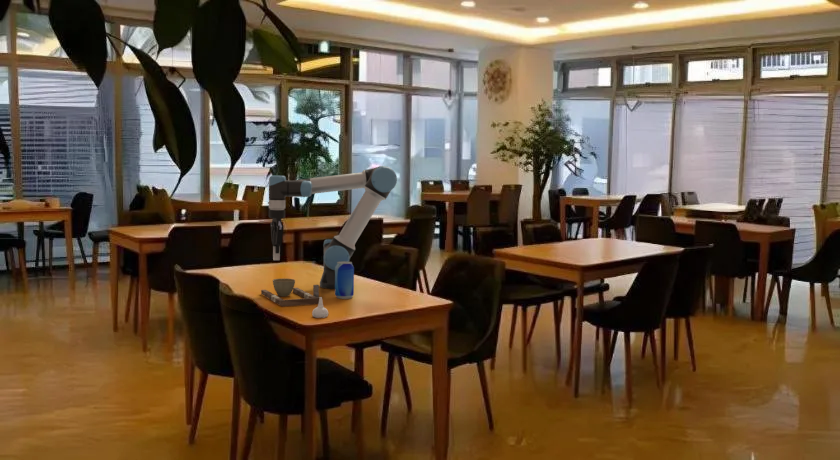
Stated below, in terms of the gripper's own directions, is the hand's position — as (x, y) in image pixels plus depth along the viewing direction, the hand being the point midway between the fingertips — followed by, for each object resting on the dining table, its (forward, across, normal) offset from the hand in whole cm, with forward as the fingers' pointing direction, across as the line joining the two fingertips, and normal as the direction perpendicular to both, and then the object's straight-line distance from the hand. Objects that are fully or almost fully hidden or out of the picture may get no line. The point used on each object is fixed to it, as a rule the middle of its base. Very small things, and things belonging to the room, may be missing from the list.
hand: (276, 260), depth 363 cm
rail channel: (+15, +20, +2) cm, 25 cm away
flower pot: (+15, +11, 0) cm, 19 cm away
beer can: (+15, +26, +24) cm, 38 cm away
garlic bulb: (+15, +61, 0) cm, 63 cm away
